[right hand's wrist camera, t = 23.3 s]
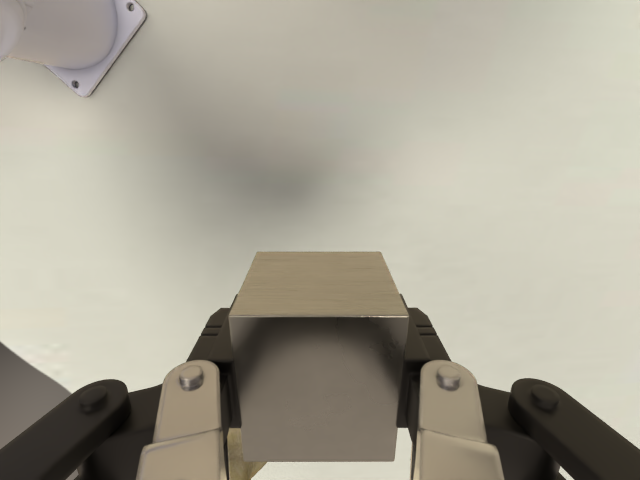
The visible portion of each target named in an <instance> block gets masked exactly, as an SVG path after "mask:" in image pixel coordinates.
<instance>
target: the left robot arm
mask: <svg viewBox="0 0 640 480" xmlns="http://www.w3.org/2000/svg"><path fill="white" fill-rule="evenodd" d="M131 4H133V5H134V10H133V11H130V9H129V6H130V5H131ZM145 18H146V13H145V11H144V9H143V8H142V7H141V6H140V5H139V4H138V3H137V2H136V1H135V0H0V62H1V61H2V60H3V59H5V58H6V57H8V58H14V59H19V60H25V61H30V62H35V63H41V64H44V65H45V66H46V67H47V68H48V69H49V70H50V71H51V72H53V73H54V74H55V75H56V76H57V77H58V78H59V79H61V80H62V81H63V82H64V83H65V84H66V85H67V86H69V87H70V88H71V89H72V90H73V91H74V92H75V93H77V94H78V95H79V96H81V97H88V96H89V95H90V94H91V93H92V91H93V90H94V89H95V87H96V86H97V85H98V83H99V82H100V80H101V79H102V78H103V76H104V75H105V74H106V72H107V71H108V69H109V68H110V67H111V65H112V64H113V63H114V61H115V60H116V58H117V57H118V56H119V54H120V53H121V52H122V50H123V49H124V47H125V46H126V45H127V43H128V42H129V41H130V39H131V38H132V36H133V35H134V34H135V32H136V31H137V30H138V28H139V27H140V25H141V24H142V23H143V21H144V20H145ZM76 81H77V82H78V83H79V87H78V88H77V87H76V86H75V82H76Z"/></svg>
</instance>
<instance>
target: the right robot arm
mask: <svg viewBox="0 0 640 480" xmlns="http://www.w3.org/2000/svg"><path fill="white" fill-rule="evenodd" d="M237 296H238V294H237V295H236V296H235V299H234V301H233V303H232V305H231V307H230V308H220V309H219V310H218V311H217V312H215V313H214V314H213V315H212V316H210V318H209V320H208V322H207V324H206V326H205V328H204V329H203V331H202V333H201V336H200V337H199V339H198V341H197V343H196V344H195V346H194V348H193V350H192V352H191V354H190V356H189V357H188V359H187V361H186V363H183V364H181V365H179V366H177V367H175V368H174V369H172V370H171V371H170V372H169V373H168V374H167V375H166V377H165V379H164V381H163V384H160V385H158V386H155V387H151V388H147V389H143V390H138V391H134V392H130V393H128V390H127V387H126V385H125V383H123V382H122V381H119V380H115V379H107V380H101V381H97V382H94V383H91V384H88V385H86V386H84V387H82V388H80V389H79V390H77V391H76V392H74V393H73V394H72V395H70V396H69V397H68V398H66V399H65V400H64V401H63V402H61V403H60V404H59V405H57V406H56V407H55V408H53V409H52V410H51V411H50V412H48V413H47V414H46V415H44V416H43V417H42V418H41V419H39V420H38V421H37V422H35V423H34V424H33V425H31V426H30V427H29V428H28V429H26V430H25V431H24V432H22V433H21V434H20V435H19V436H17V437H16V438H15V439H13V440H12V441H11V442H9V443H8V444H7V445H6V446H4V447H3V448H2V449H0V480H66V479H67V478H68V477H69V476H70V475H71V474H72V473H73V472H74V471H75V470H76V469H77V470H78V473H79V475H78V476H77V477H76V478H75V479H74V480H230V464H229V448H228V439H227V436H228V432H229V428H241V416H240V407H239V397H238V387H237V377H236V368H235V359H234V358H233V356H232V346H231V336H230V327H229V317H228V316H229V314H230V311H231V309H232V307H233V305H234V302H235V300H236V298H237ZM400 297H401V299H402V301H403V303H404V306H405V308H406V310H407V312H408V315H409V322H408V332H407V342H406V351H405V358H403V363H402V373H401V383H400V393H399V403H398V413H397V423H396V427H397V428H408V430H409V433H410V437H411V440H412V447H411V464H410V480H566V479H565V478H564V477H563V476H562V475H561V474H560V473H559V469H560V466H561V467H562V468H563V469H564V470H565V471H566V472H567V473H568V474H569V475H570V476H571V477H572V478H573V479H574V480H640V449H638V448H637V447H636V446H634V445H633V444H632V443H631V442H629V441H628V440H627V439H625V438H624V437H623V436H621V435H620V434H619V433H618V432H616V431H615V430H614V429H612V428H611V427H610V426H609V425H607V424H606V423H605V422H603V421H602V420H601V419H599V418H598V417H597V416H596V415H594V414H593V413H592V412H590V411H589V410H588V409H587V408H585V407H584V406H583V405H581V404H580V403H579V402H577V401H576V400H575V399H574V398H572V397H571V396H570V395H568V394H567V393H566V392H564V391H563V390H562V389H560V388H558V387H557V386H555V385H553V384H550V383H548V382H545V381H542V380H538V379H531V378H524V379H519V380H517V381H516V382H514V383H513V385H512V388H511V392H506V391H501V390H497V389H493V388H488V387H485V386H481V385H478V384H477V381H476V379H475V377H474V376H473V374H472V373H471V372H470V371H469V370H467V369H466V368H465V367H463V366H461V365H459V364H457V363H454V362H451V360H450V358H449V356H448V354H447V352H446V350H445V348H444V347H443V345H442V343H441V341H440V339H439V337H438V336H437V333H436V331H435V329H434V328H433V327H432V324H431V322H430V320H429V318H428V316H427V315H425V314H424V313H423V312H422V311H420V310H419V309H418V308H408V307H407V305H406V303H405V300H404V298H403V296H402V294H400Z"/></svg>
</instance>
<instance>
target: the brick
mask: <svg viewBox="0 0 640 480" xmlns="http://www.w3.org/2000/svg"><path fill="white" fill-rule="evenodd" d="M228 317H229V327H230V336H231V346H232V356H233V358H234V359H235V368H236V377H237V387H238V397H239V407H240V416H241V428H240V432H241V442H242V451H243V460H244V461H245V462H380V461H394V459H395V449H396V439H397V430H398V428H397V427H396V423H397V413H398V403H399V393H400V383H401V373H402V363H403V358H405V351H406V342H407V332H408V322H409V315H408V312H407V310H406V308H405V306H404V303H403V301H402V299H401V297H400V294H399V292H398V290H397V287H396V285H395V283H394V281H393V278H392V276H391V274H390V272H389V269H388V267H387V265H386V263H385V260H384V258H383V256H382V254H381V252H257V253H256V256H255V258H254V260H253V262H252V264H251V267H250V269H249V271H248V273H247V276H246V278H245V280H244V282H243V285H242V287H241V289H240V291H239V294H238V296H237V298H236V300H235V302H234V305H233V307H232V309H231V311H230V314H229V316H228Z"/></svg>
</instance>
